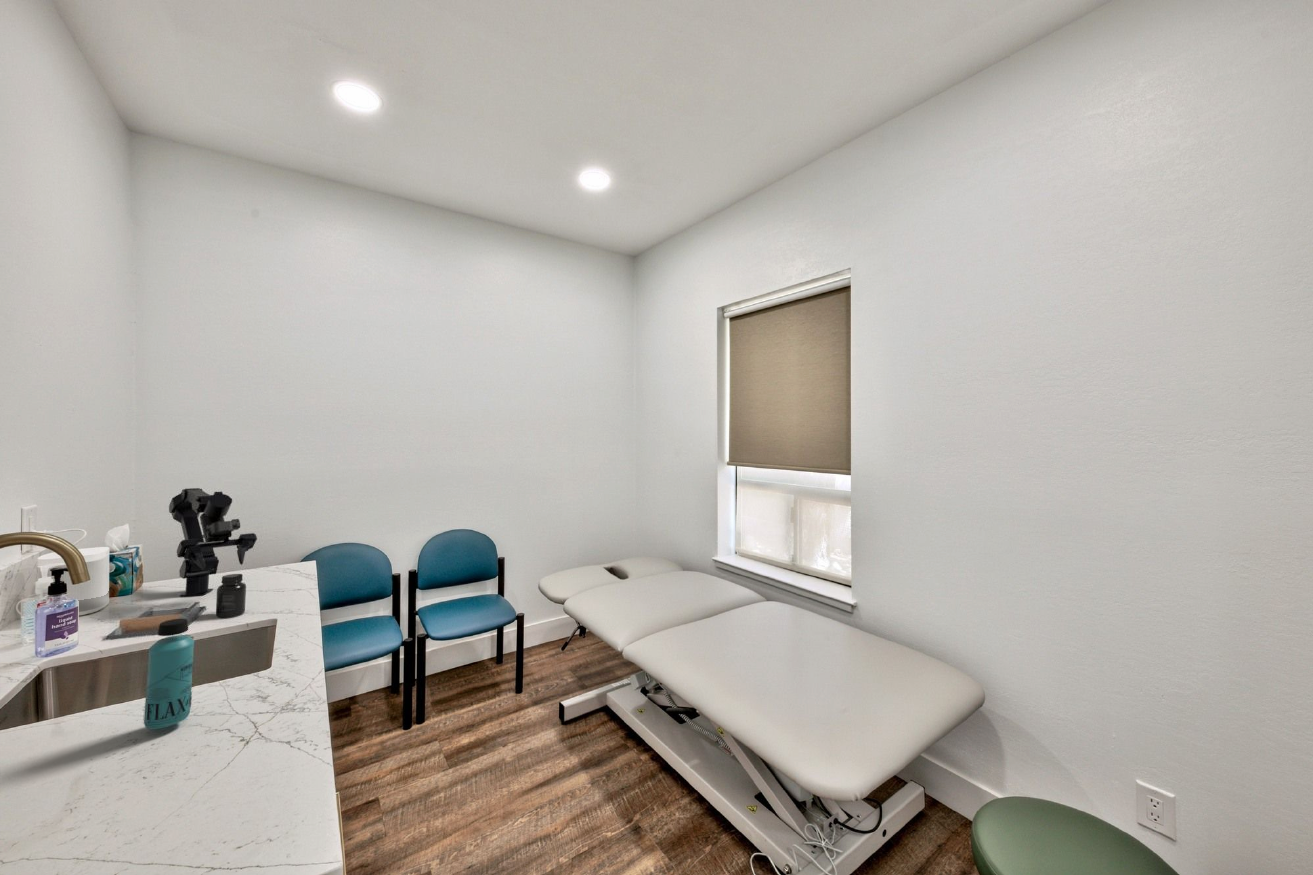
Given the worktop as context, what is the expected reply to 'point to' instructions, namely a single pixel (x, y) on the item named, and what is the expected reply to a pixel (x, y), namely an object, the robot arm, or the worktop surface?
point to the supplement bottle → (231, 596)
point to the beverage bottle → (169, 676)
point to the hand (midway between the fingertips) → (223, 566)
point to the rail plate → (153, 621)
